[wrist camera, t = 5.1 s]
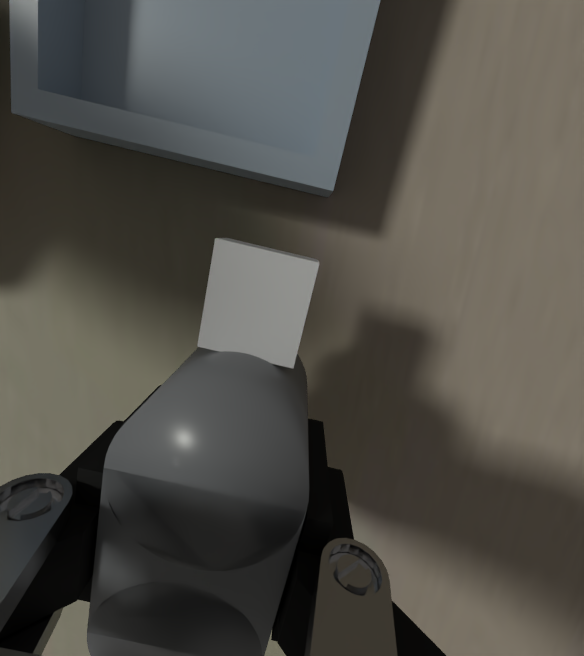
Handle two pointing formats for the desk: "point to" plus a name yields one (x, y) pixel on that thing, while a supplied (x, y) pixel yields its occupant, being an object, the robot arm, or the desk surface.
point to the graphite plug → (211, 475)
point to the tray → (198, 79)
